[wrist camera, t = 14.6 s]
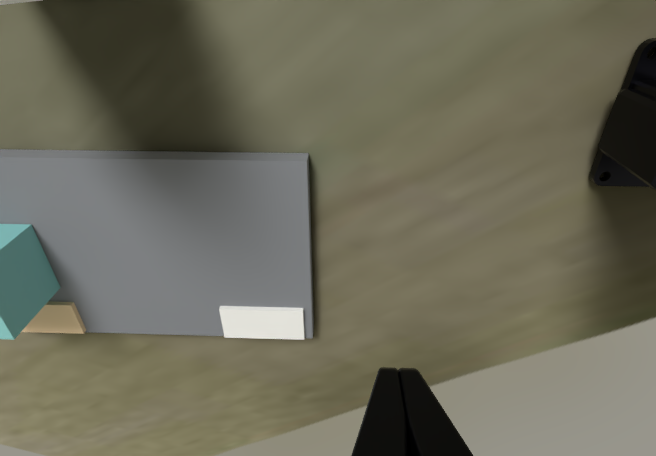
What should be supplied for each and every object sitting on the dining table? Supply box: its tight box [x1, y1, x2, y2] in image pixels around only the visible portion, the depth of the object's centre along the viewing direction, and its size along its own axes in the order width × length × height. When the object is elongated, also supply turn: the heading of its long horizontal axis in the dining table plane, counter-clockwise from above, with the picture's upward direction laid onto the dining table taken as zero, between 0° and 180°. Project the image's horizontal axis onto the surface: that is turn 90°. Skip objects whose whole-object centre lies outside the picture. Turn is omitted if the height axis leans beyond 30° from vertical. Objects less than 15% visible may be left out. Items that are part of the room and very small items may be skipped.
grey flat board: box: [0, 149, 314, 340], centre depth 23 cm, size 20×12×1 cm, turn 90°
